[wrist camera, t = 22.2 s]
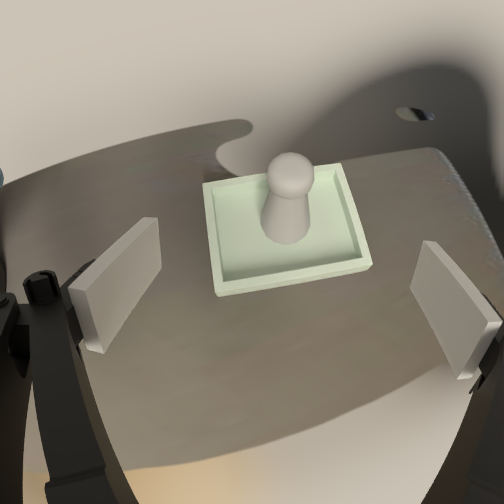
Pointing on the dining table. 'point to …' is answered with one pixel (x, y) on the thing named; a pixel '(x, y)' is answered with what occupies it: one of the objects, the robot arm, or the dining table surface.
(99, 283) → the robot arm
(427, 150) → the dining table surface
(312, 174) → the salt shaker
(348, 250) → the tray
